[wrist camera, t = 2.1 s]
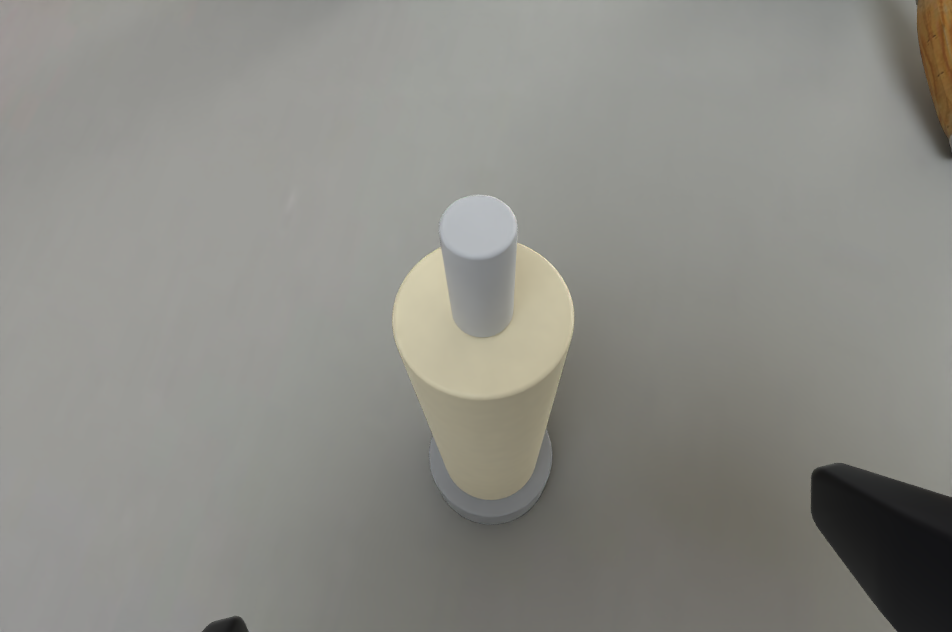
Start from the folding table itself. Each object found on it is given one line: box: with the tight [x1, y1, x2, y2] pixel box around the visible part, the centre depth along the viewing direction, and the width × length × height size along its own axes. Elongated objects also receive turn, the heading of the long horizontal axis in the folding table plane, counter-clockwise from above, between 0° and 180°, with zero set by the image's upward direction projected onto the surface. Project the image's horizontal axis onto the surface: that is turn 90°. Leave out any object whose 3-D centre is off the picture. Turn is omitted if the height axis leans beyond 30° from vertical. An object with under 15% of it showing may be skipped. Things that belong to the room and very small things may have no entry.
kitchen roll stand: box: [392, 195, 574, 525], centre depth 13 cm, size 4×4×14 cm
